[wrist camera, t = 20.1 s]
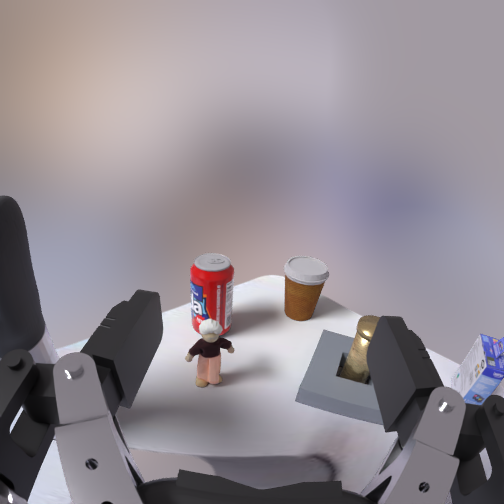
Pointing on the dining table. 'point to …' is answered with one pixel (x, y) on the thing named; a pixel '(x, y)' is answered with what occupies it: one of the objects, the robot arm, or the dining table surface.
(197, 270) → the soda can
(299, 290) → the disposable coffee cup
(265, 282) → the dining table surface
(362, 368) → the brass sleeve
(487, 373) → the ink cartridge box
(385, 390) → the robot arm
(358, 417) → the jig plate
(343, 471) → the dining table surface
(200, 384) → the grandmother figurine
